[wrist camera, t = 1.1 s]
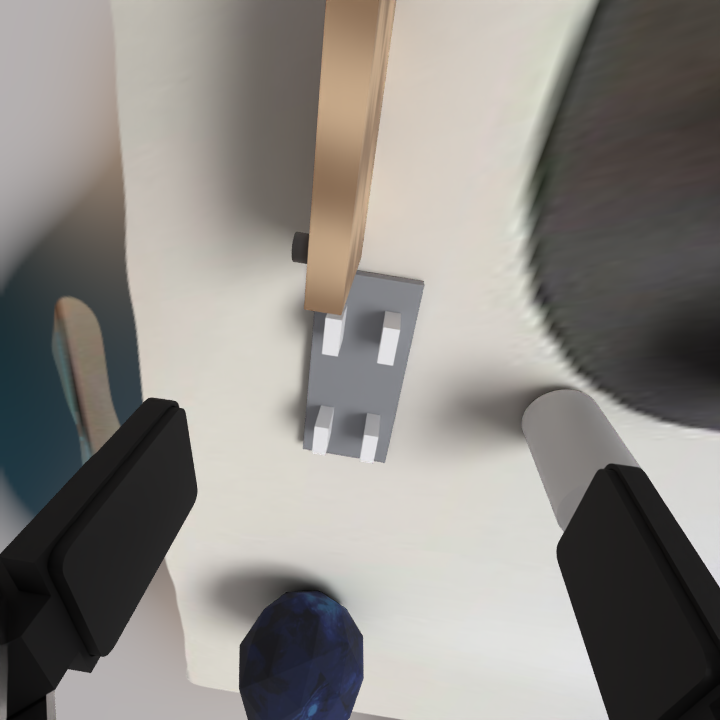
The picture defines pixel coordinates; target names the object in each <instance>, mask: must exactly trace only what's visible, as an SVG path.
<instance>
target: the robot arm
mask: <svg viewBox="0 0 720 720" xmlns="http://www.w3.org/2000/svg"><path fill="white" fill-rule="evenodd" d="M196 497H197V482H196V476H195V470H194V463H193V457H192V451H191V444H190V438H189V431H188V425H187V419H186V413H185V410H184V409H182V408H179V405H178V403H177V402H176V401H172V400H165V399H158V398H148V399H147V400H146V401H144V402H143V404H142V405H141V406H140V407H139V408H138V409H137V410H136V411H135V412H134V413H133V414H132V415H131V416H130V417H129V419H128V420H127V421H126V422H125V423H124V424H123V425H122V426H121V427H120V428H119V429H118V430H117V431H116V432H115V434H114V435H113V436H112V437H111V438H110V439H109V440H108V441H107V442H106V443H105V444H104V445H103V446H102V447H101V449H100V450H99V451H98V452H97V453H95V454H94V455H93V456H92V457H91V458H90V459H89V460H88V461H87V462H86V463H85V464H84V465H83V466H82V467H81V468H80V469H79V471H78V472H77V473H76V474H75V475H74V476H73V477H72V478H71V479H70V480H69V481H68V482H67V483H66V484H65V485H64V486H63V488H62V489H61V490H60V491H59V492H58V493H57V494H56V495H55V496H54V497H53V498H52V499H51V500H50V501H49V503H48V504H47V505H46V506H45V507H44V508H43V509H42V510H41V511H40V512H39V513H38V514H37V515H36V516H35V518H34V519H33V520H32V521H31V522H30V523H29V524H28V525H27V526H26V527H25V528H24V529H23V530H22V531H21V532H20V534H18V536H17V537H16V538H15V539H14V540H13V541H12V542H11V543H10V544H9V545H8V546H7V547H6V548H5V549H4V551H3V552H2V553H1V554H0V720H56V709H55V691H54V690H55V689H56V687H57V686H58V684H59V682H60V681H61V679H62V677H63V676H64V674H65V673H66V671H67V669H71V670H77V671H82V672H89V673H91V672H92V670H93V668H94V667H95V665H96V663H97V661H98V660H99V658H100V656H102V657H104V656H106V655H108V654H109V653H110V652H111V650H112V649H113V648H114V646H115V644H116V643H117V641H118V639H119V637H120V636H121V634H122V632H123V630H124V628H125V627H126V625H127V623H128V621H129V620H130V618H131V616H132V614H133V612H134V611H135V609H136V607H137V605H138V603H139V602H140V600H141V598H142V596H143V595H144V593H145V591H146V589H147V587H148V585H149V584H150V582H151V580H152V578H153V577H154V575H155V573H156V571H157V570H158V568H159V566H160V564H161V562H162V561H163V559H164V557H165V555H166V553H167V552H168V550H169V548H170V546H171V545H172V543H173V541H174V539H175V537H176V536H177V534H178V532H179V530H180V528H181V527H182V525H183V523H184V521H185V520H186V518H187V516H188V514H189V512H190V511H191V509H192V507H193V505H194V503H195V500H196ZM557 560H558V564H559V567H560V570H561V573H562V576H563V579H564V582H565V585H566V588H567V591H568V594H569V597H570V601H571V604H572V607H573V610H574V613H575V616H576V619H577V622H578V625H579V628H580V631H581V634H582V637H583V640H584V644H585V647H586V650H587V653H588V656H589V659H590V662H591V665H592V668H593V671H594V674H595V677H596V680H597V684H598V687H599V690H600V693H601V696H602V699H603V702H604V705H605V708H606V711H607V714H608V717H609V720H720V587H719V586H718V584H717V583H716V581H715V580H714V578H713V576H712V575H711V573H710V572H709V570H708V569H707V567H706V566H705V564H704V563H703V561H702V560H701V558H700V556H699V555H698V553H697V552H696V550H695V549H694V547H693V546H692V544H691V543H690V541H689V540H688V538H687V536H686V535H685V533H684V532H683V530H682V529H681V527H680V526H679V524H678V523H677V521H676V520H675V518H674V516H673V515H672V513H671V512H670V510H669V509H668V507H667V506H666V504H665V503H664V501H663V500H662V498H661V496H660V495H659V493H658V492H657V490H656V489H655V487H654V486H653V484H652V483H651V481H650V480H649V478H648V476H647V475H646V473H645V472H644V471H643V470H642V469H641V468H639V467H635V466H628V465H621V464H614V463H610V464H608V465H606V467H605V468H604V469H599V470H598V471H597V472H596V474H595V475H594V477H593V479H592V481H591V483H590V485H589V487H588V488H587V490H586V492H585V494H584V496H583V498H582V500H581V502H580V503H579V505H578V507H577V509H576V511H575V513H574V515H573V516H572V518H571V520H570V522H569V524H568V526H567V528H566V529H565V531H564V533H563V535H562V537H561V539H560V541H559V543H558V545H557Z"/></svg>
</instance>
